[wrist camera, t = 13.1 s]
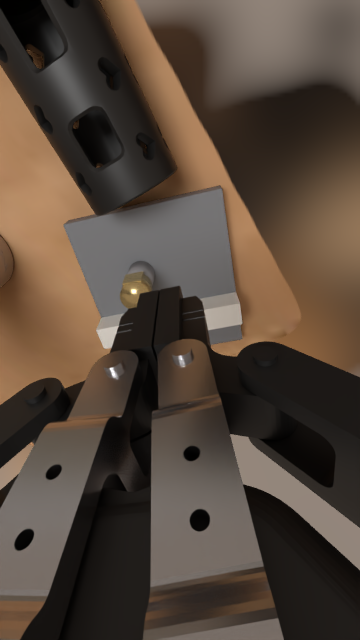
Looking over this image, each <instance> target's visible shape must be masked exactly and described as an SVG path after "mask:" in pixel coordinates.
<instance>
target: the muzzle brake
mask: <svg viewBox="0 0 360 640" xmlns="http://www.w3.org/2000/svg"><path fill="white" fill-rule="evenodd" d="M27 49H29V50H31V51H33V52H35V53H36V54H38V55H40V56H42V57H43V68H42V69H39V68H37V67H36V66H35V65H34V63H33V57H31V56H30V55H29V54H28V53H27V51H26V50H27ZM0 65H1V67H2V68H3V70H4V71H5V73H6V75H7V76H8V78H9V79H10V81H11V82H12V84H13V85H14V87H15V89H16V90H17V92H18V93H19V95H20V96H21V98H22V100H23V101H24V103H25V104H26V106H27V107H28V109H29V111H30V112H31V114H32V115H33V117H34V118H35V120H36V122H37V123H38V125H39V126H40V128H41V129H42V131H43V133H44V134H45V136H46V137H47V139H48V140H49V142H50V143H51V145H52V147H53V148H54V150H55V151H56V153H57V154H58V156H59V158H60V159H61V161H62V162H63V164H64V165H65V167H66V169H67V170H68V172H69V173H70V175H71V176H72V178H73V180H74V181H75V183H76V184H77V186H78V187H79V189H80V191H81V192H82V194H83V195H84V197H85V198H86V200H87V201H88V203H89V205H90V206H91V208H92V209H93V211H94V212H95V214H96V216H102V215H105V214H107V213H109V212H111V211H113V210H115V209H117V208H119V207H121V206H123V205H125V204H127V203H128V202H130V201H132V200H134V199H135V198H137V197H139V196H141V195H142V194H144V193H146V192H147V191H149V190H150V189H152V188H153V187H155V186H157V185H158V184H160V183H161V182H163V181H164V180H165V179H167V178H168V177H169V176H171V175H172V174H173V173H174V172H175V171H176V170H177V166H176V163H175V161H174V159H173V157H172V155H171V153H170V151H169V149H168V147H167V145H166V143H165V141H164V139H163V138H162V134H161V132H160V130H159V127H158V125H157V123H156V121H155V119H154V116H153V114H152V112H151V110H150V108H149V106H148V104H147V101H146V99H145V97H144V95H143V93H142V91H141V89H140V86H139V84H138V82H137V80H136V78H135V76H134V75H133V74H132V71H131V68H130V66H129V63H128V61H127V59H126V57H125V54H124V52H123V50H122V48H121V46H120V44H119V41H118V39H117V37H116V35H115V33H114V31H113V29H112V26H111V24H110V22H109V20H108V18H107V16H106V14H105V11H104V10H103V8H102V6H101V4H100V2H99V1H98V0H0ZM76 121H77V129H74V128H73V125H74V122H76ZM145 145H146V148H147V149H146V148H145ZM96 166H101V167H100V168H96Z"/></svg>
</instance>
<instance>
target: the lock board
mask: <svg viewBox="0 0 360 640" xmlns="http://www.w3.org/2000/svg"><path fill="white" fill-rule="evenodd" d="M64 228H65V230H66V233H67V235H68V238H69V240H70V243H71V245H72V247H73V250H74V252H75V255H76V257H77V260H78V262H79V264H80V267H81V269H82V272H83V274H84V277H85V279H86V281H87V284H88V286H89V289H90V291H91V294H92V296H93V299H94V301H95V303H96V306H97V308H98V311H99V313H100V316H101V320H100V322H99V325H98V327H97V329H96V331H97V333H98V336H99V338H100V340H101V342H102V345H103V347H104V349H107V348H112V345H113V342H114V338H115V335H116V334H117V329H118V327H119V322H120V319H121V317H122V316H123V314H124V313H125V312H126V311H127V310H128V308H126V307H125V306H124V305H123V304H122V302H121V300H120V292H121V289H122V287H123V285H122V283H123V280H124V277H125V275H126V274H131V273H136V272H142V271H143V273H144V274H145V275H146V276H148V277H149V278H150V280H151V282H152V291H155V290H161V289H165V288H170V287H175V286H180V287H181V291H182V295H183V298H186V297H191V296H197V297H198V298H199V299H200V300H201V301H202V302H203V307H204V312H205V317H206V322H207V327H208V332H209V338H210V345H212V344H218V343H223V342H229V341H235V340H241V339H242V333H241V325H240V324H243V323H242V315H241V308H240V302H239V299H238V296H237V293H236V288H235V281H234V274H233V266H232V259H231V251H230V244H229V237H228V229H227V222H226V214H225V207H224V200H223V192H222V188H221V186H216V187H211V188H207V189H203V190H198V191H194V192H190V193H185V194H181V195H177V196H172V197H168V198H164V199H159V200H155V201H151V202H146V203H142V204H138V205H133V206H129V207H125V208H120V209H116V210H113V211H111V212H109V213H107V214H105V215H102V216H96V214H94V215H90V216H86V217H81V218H77V219H73V220H69V221H67V222H66V223H65V224H64Z"/></svg>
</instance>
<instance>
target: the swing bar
mask: <svg viewBox="0 0 360 640" xmlns="http://www.w3.org/2000/svg"><path fill="white" fill-rule="evenodd" d="M122 285H123V287H122V289H121V292H120V300H121V302H122V304H123V305H124V306H125V307H126V308H128V309H129V308H135V307H137V303H138V299H139V295H140V293H145V292H150V291H152V282H151V280H150V278H149V277H148V276H146V275H145V274H144V273H143V271H142V272H136V273H131V274H126V275H125V277H124V280H123V283H122Z"/></svg>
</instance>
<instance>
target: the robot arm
mask: <svg viewBox="0 0 360 640" xmlns="http://www.w3.org/2000/svg"><path fill="white" fill-rule="evenodd" d="M13 264H14V262H13V257H12V254H11V251H10V249H9V247H8V245H7V244H6V242H5V241H4V239H3V238H2V237H1V236H0V287H1V286H3V285H4V284H5V283H6V282H7V281H8V280H9V278H10V277H11V275H12V272H13ZM230 434H234V435H240V436H247V437H249V439H250V441H251V443H252V444H253V445H254V446H255V447H256V448H257V449H259V450H260V451H261V452H263V453H264V454H265V455H266V456H268V457H269V458H270V459H272V460H273V461H274V462H276V463H277V464H278V465H279V466H281V467H282V468H283V469H285V470H286V471H287V472H288V473H290V474H291V475H292V476H294V477H295V478H296V479H297V480H299V481H300V482H301V483H303V484H304V485H305V486H307V487H308V488H309V489H310V490H312V491H313V492H314V493H316V494H317V495H318V496H320V497H321V498H322V499H323V500H325V501H326V502H327V503H329V504H330V505H331V506H332V507H334V508H335V509H336V510H338V511H339V512H340V513H341V514H343V515H344V516H345V517H347V518H348V519H349V520H350V521H352V522H353V523H354V524H356V525H357V526H358V527H360V377H358V376H355V375H353V374H351V373H348V372H346V371H344V370H341V369H339V368H337V367H334V366H332V365H329V364H327V363H325V362H322V361H320V360H317V359H315V358H313V357H311V356H308V355H306V354H304V353H301V352H299V351H296V350H294V349H292V348H289V347H287V346H285V345H282V344H279V343H275V342H258V343H254V344H251V345H249V346H247V347H245V348H244V349H243V350H241V352H240V353H239V354H238V356H237V357H233V356H225V355H221V354H218V353H216V352H214V351H213V350H212V349H211V345H210V338H209V332H208V327H207V322H206V317H205V312H204V307H203V302H202V301H201V300H200V299H199V298H198V297H197V296H191V297H186V298H183V295H182V291H181V287H180V286H175V287H170V288H165V289H161V290H155V291H150V292H145V293H140V295H139V299H138V303H137V307H135V308H129V309H128V310H127V311H126V312H125V313H124V314H123V316H122V317H121V319H120V322H119V327H118V329H117V334H116V335H115V338H114V342H113V345H112V348H111V351H110V353H109V354H107V355H105V356H103V357H102V358H100V359H99V360H98V361H97V362H96V363H95V364H94V365H93V367H92V368H91V370H90V372H89V375H88V377H87V379H86V380H85V381H83V382H80V383H78V384H75V385H73V386H70V387H68V388H65V389H64V387H63V385H62V383H61V382H60V381H59V380H58V379H56V378H45V379H41V380H38V381H36V382H33V383H31V384H30V385H28V386H26V387H25V388H23V389H22V390H21V391H19V392H18V393H17V394H15V395H14V396H12V397H11V398H10V399H8V400H7V401H6V402H4V403H3V404H1V405H0V468H1V467H2V466H4V465H5V464H6V463H7V462H8V461H9V460H11V459H12V458H13V457H14V456H15V455H16V454H17V453H18V452H20V451H21V450H22V449H23V448H25V447H26V446H27V445H28V444H29V443H30V442H33V444H34V447H33V448H32V450H31V452H30V454H29V456H28V458H27V460H26V462H25V463H24V465H23V467H22V469H21V471H20V473H19V474H18V475H17V476H16V477H15V478H14V479H13V480H11V481H10V482H9V483H8V484H7V485H6V486H5V487H4V488H2V489H1V490H0V640H360V570H359V569H358V568H357V567H355V566H354V565H353V564H352V563H351V562H350V561H349V560H348V559H347V558H346V557H345V556H343V555H342V554H341V553H340V552H339V551H338V550H337V549H336V548H335V547H334V546H332V544H330V543H329V542H328V541H327V540H326V539H325V538H324V537H323V536H322V535H321V534H319V533H318V532H317V531H316V530H315V529H314V528H313V527H312V526H311V525H310V524H309V523H308V522H307V521H305V520H304V519H303V518H302V517H301V516H300V515H299V514H298V513H296V512H295V511H294V510H293V509H292V508H291V507H289V506H288V505H287V504H285V503H284V502H282V501H281V500H280V499H278V498H276V497H274V496H272V495H271V494H269V493H267V492H264V491H262V490H259V489H257V488H254V487H251V486H247V485H243V483H242V479H241V475H240V472H239V468H238V464H237V460H236V456H235V452H234V449H233V444H232V440H231V437H230Z"/></svg>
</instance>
